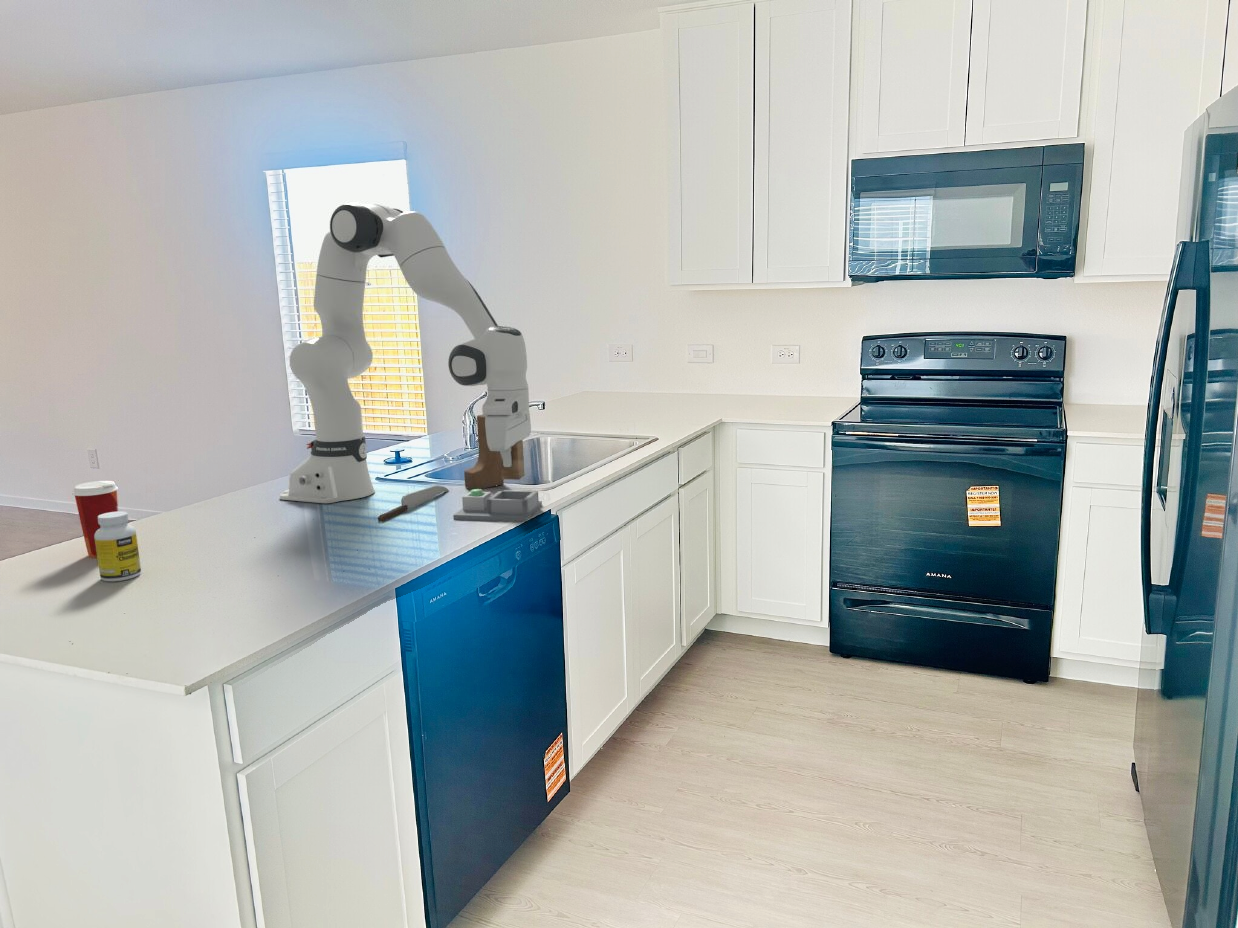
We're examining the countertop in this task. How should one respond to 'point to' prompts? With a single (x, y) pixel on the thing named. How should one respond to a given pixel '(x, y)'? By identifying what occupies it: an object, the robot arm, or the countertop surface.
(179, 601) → the countertop surface
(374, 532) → the countertop surface
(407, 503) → the kitchen knife
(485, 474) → the wooden block
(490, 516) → the gray button tray fixture
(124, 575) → the pill bottle
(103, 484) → the paper cup
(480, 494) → the button
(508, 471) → the block
